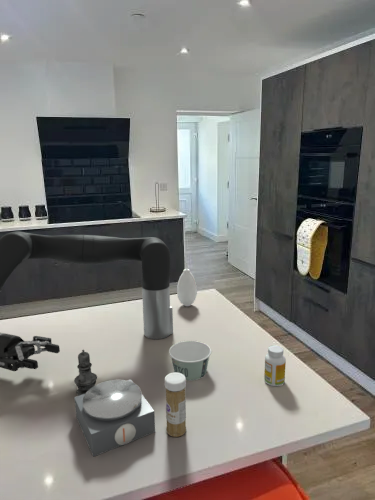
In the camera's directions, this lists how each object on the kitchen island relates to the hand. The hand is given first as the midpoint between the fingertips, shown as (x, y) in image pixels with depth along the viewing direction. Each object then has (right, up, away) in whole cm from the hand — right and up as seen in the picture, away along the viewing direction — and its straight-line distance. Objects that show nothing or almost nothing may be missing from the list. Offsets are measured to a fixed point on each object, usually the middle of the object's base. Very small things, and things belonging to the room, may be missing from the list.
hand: (48, 357), depth 101 cm
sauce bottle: (+37, +6, +53) cm, 65 cm away
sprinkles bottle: (+35, -12, -17) cm, 40 cm away
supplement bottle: (+61, -7, +1) cm, 61 cm away
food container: (+38, -6, +7) cm, 39 cm away
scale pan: (+20, -7, -16) cm, 27 cm away
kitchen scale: (+21, -11, -14) cm, 28 cm away
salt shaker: (+11, -9, -2) cm, 14 cm away
